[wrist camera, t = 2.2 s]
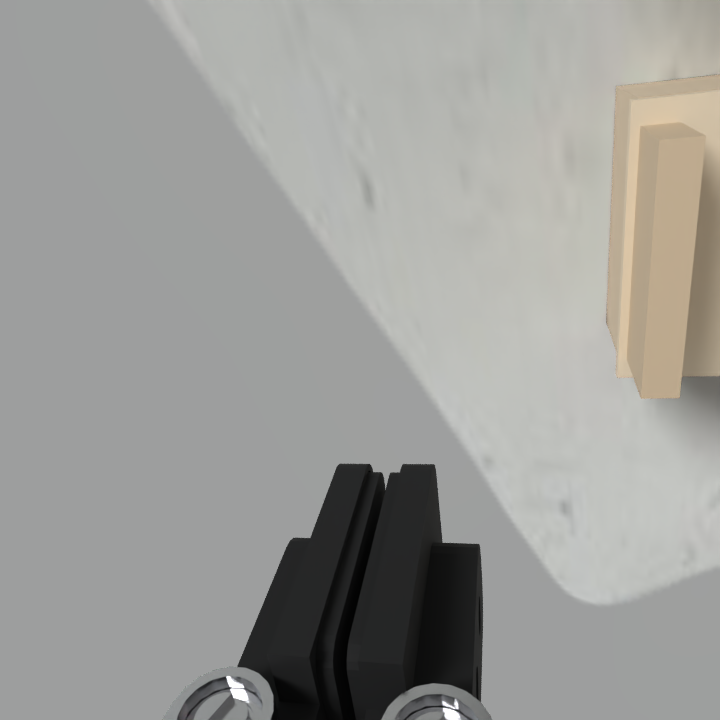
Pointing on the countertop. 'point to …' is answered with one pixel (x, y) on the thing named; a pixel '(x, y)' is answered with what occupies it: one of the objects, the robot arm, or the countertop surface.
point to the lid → (670, 243)
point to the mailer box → (619, 172)
